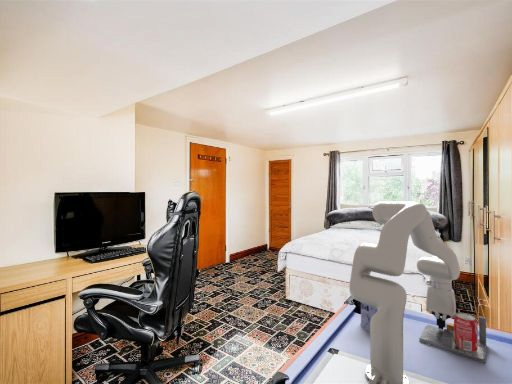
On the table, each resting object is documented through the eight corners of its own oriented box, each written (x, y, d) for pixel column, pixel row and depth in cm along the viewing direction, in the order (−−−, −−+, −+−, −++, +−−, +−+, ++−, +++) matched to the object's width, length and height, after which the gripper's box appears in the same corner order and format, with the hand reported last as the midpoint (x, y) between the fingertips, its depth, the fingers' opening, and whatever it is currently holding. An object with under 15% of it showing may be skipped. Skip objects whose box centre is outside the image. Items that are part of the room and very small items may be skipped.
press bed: (484, 364, 92) (484, 332, 92) (418, 342, 105) (418, 314, 105) (486, 345, 103) (486, 317, 104) (426, 327, 117) (426, 303, 117)
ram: (451, 347, 99) (451, 338, 99) (442, 344, 101) (441, 335, 101) (456, 332, 110) (456, 324, 110) (447, 330, 112) (447, 322, 112)
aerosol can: (356, 324, 120) (356, 280, 120) (369, 321, 123) (368, 278, 123) (370, 332, 113) (370, 286, 113) (383, 328, 116) (383, 283, 116)
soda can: (469, 343, 102) (468, 312, 102) (483, 354, 95) (482, 321, 95) (449, 342, 102) (449, 311, 103) (462, 353, 95) (461, 320, 96)
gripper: (419, 283, 115) (419, 325, 114) (462, 291, 105) (462, 337, 104) (422, 279, 120) (422, 319, 120) (463, 286, 110) (463, 330, 110)
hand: (441, 327), depth 112 cm, fingers closed
